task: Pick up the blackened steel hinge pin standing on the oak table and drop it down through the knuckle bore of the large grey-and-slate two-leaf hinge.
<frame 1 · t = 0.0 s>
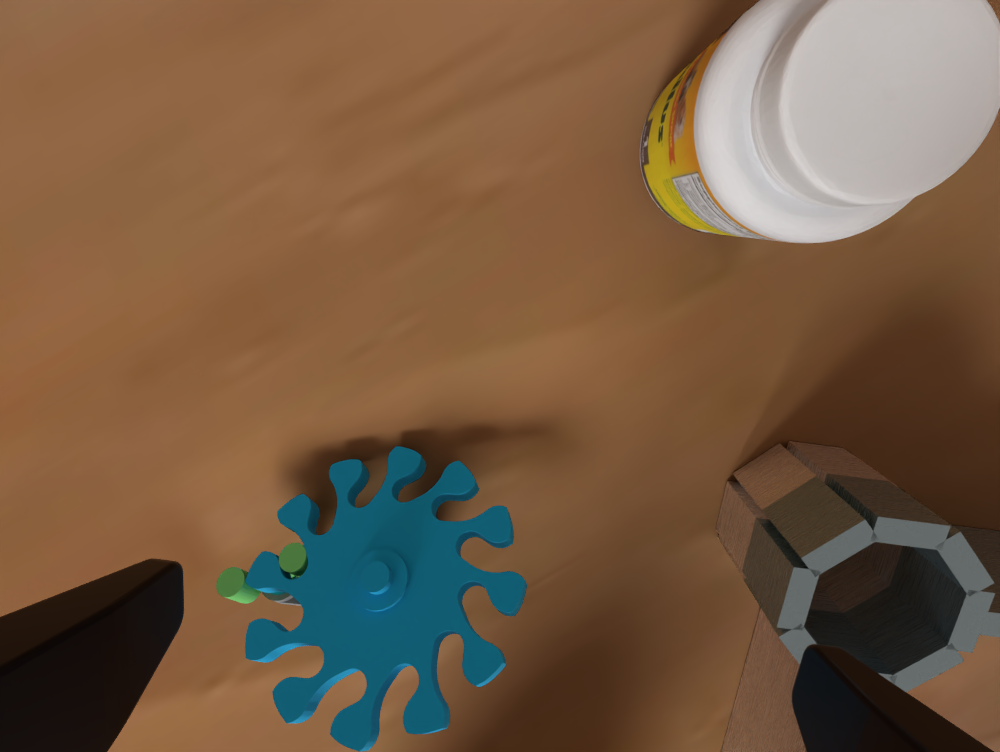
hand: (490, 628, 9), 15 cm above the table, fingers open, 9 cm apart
gear: (393, 527, 25), on the table
supplement bottle: (714, 150, 21), on the table
hinge fixture: (796, 514, 24), on the table
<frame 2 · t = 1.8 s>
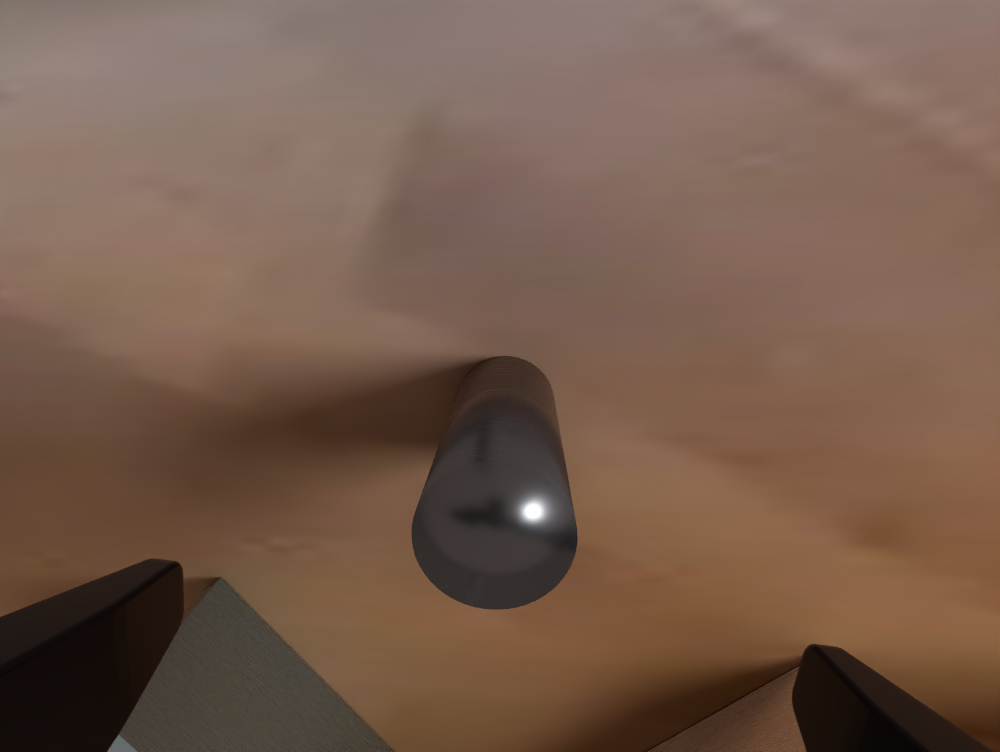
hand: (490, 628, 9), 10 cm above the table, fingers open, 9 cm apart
hinge pin: (505, 403, 19), on the table
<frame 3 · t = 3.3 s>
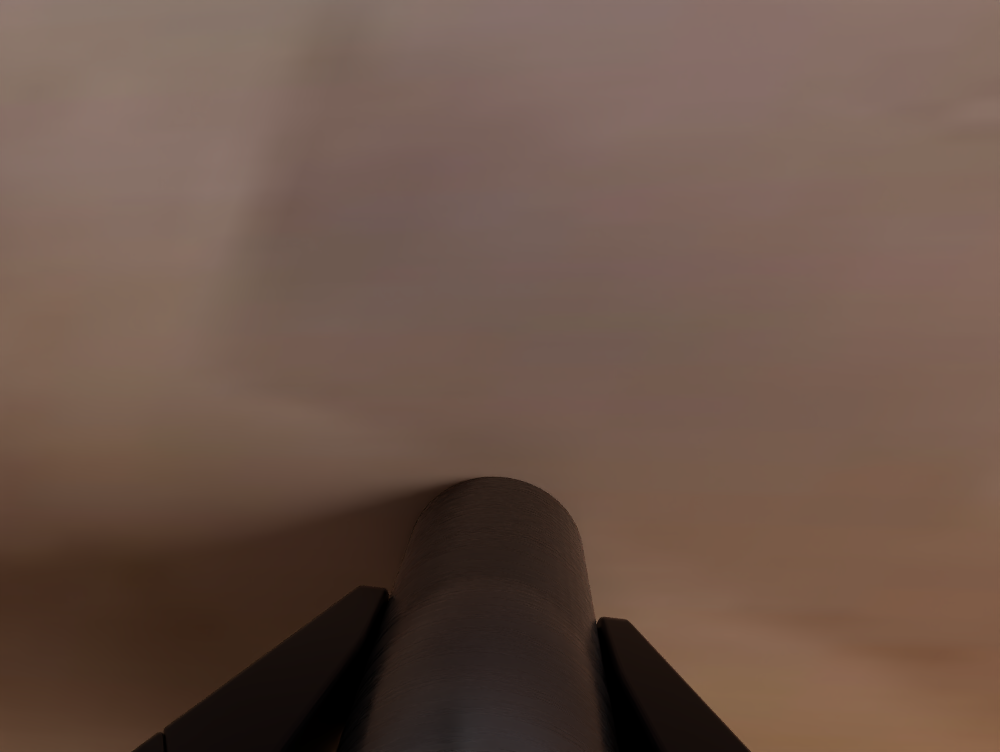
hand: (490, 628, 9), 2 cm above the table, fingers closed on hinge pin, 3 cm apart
hinge pin: (495, 557, 10), on the table, touching gripper
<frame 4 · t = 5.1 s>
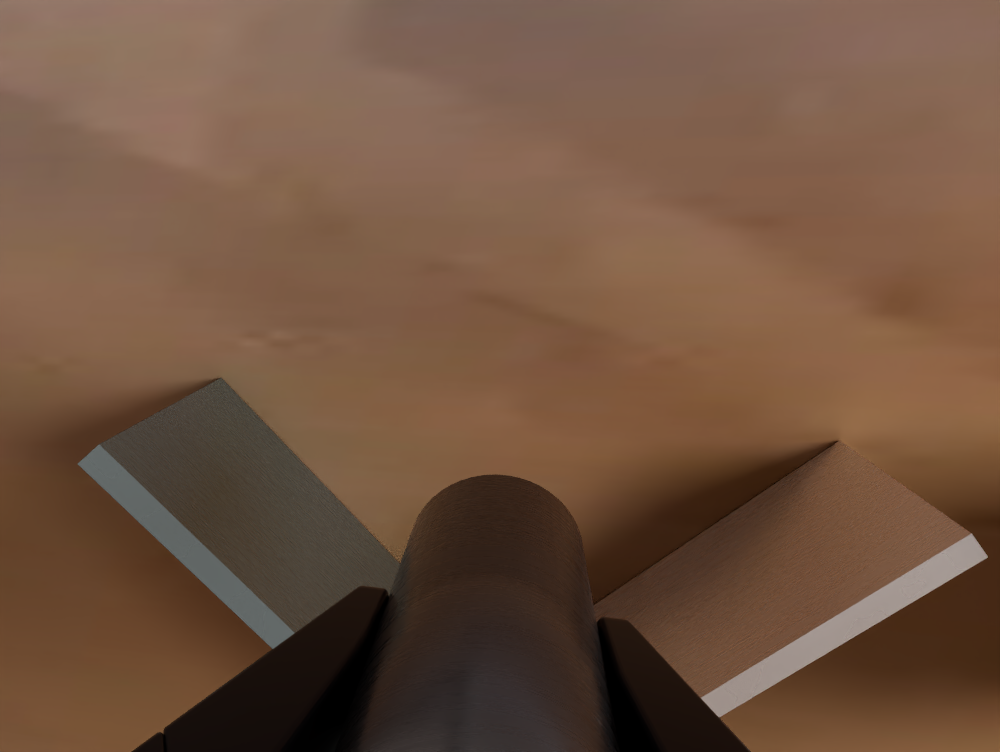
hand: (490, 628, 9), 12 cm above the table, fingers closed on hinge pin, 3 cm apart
hinge pin: (495, 555, 10), point 10 cm above the table, touching gripper
hinge fixture: (498, 680, 23), on the table
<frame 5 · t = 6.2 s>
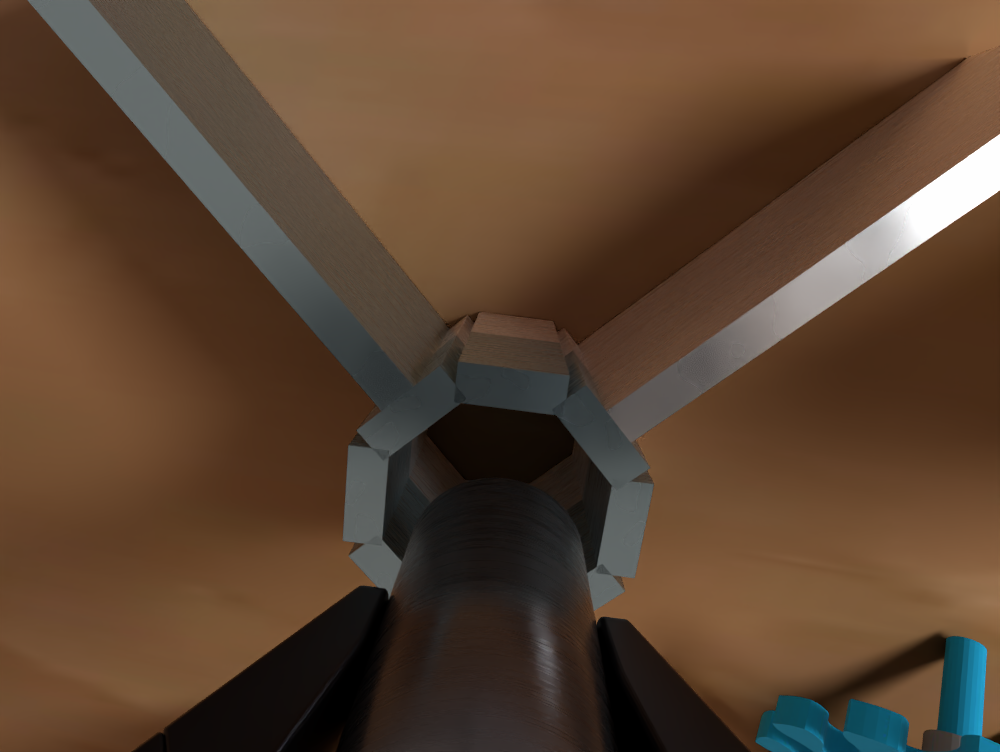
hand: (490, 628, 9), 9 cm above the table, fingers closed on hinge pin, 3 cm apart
hinge pin: (495, 557, 10), point 8 cm above the table, touching gripper
gear: (880, 707, 20), on the table
hinge fixture: (503, 416, 18), on the table
when the fingers open (7 cm above the table, at t = 7.0 s): hinge pin drops 5 cm, resting in hinge fixture.
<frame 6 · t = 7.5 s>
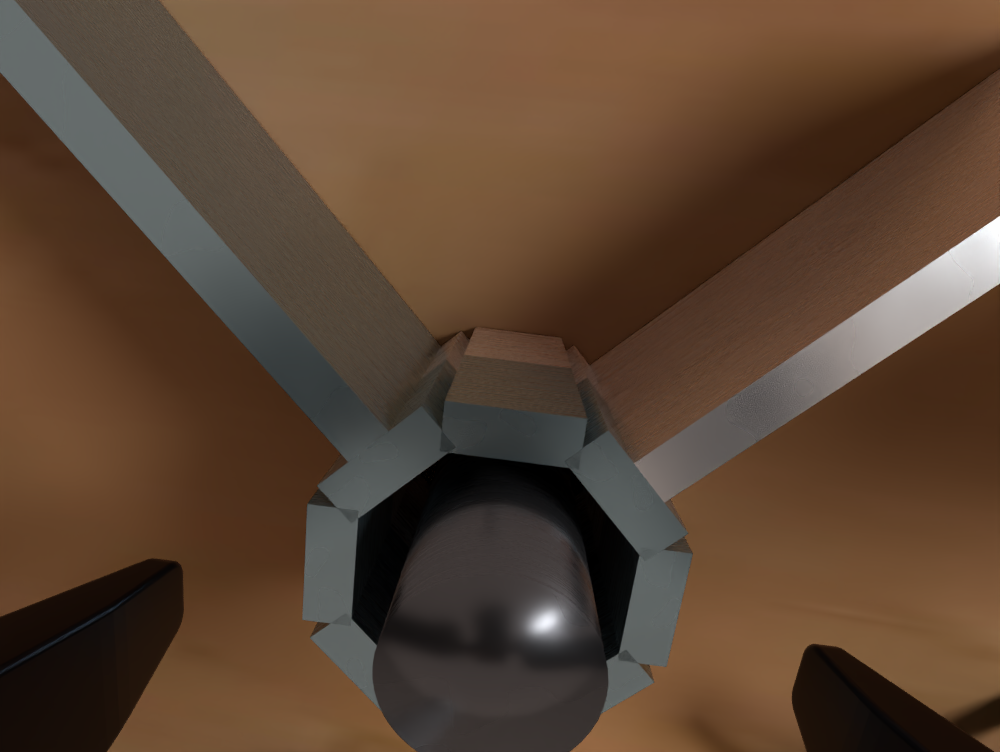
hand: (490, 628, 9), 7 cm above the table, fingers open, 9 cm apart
hinge pin: (505, 446, 15), resting in hinge fixture
hinge fixture: (503, 446, 15), on the table
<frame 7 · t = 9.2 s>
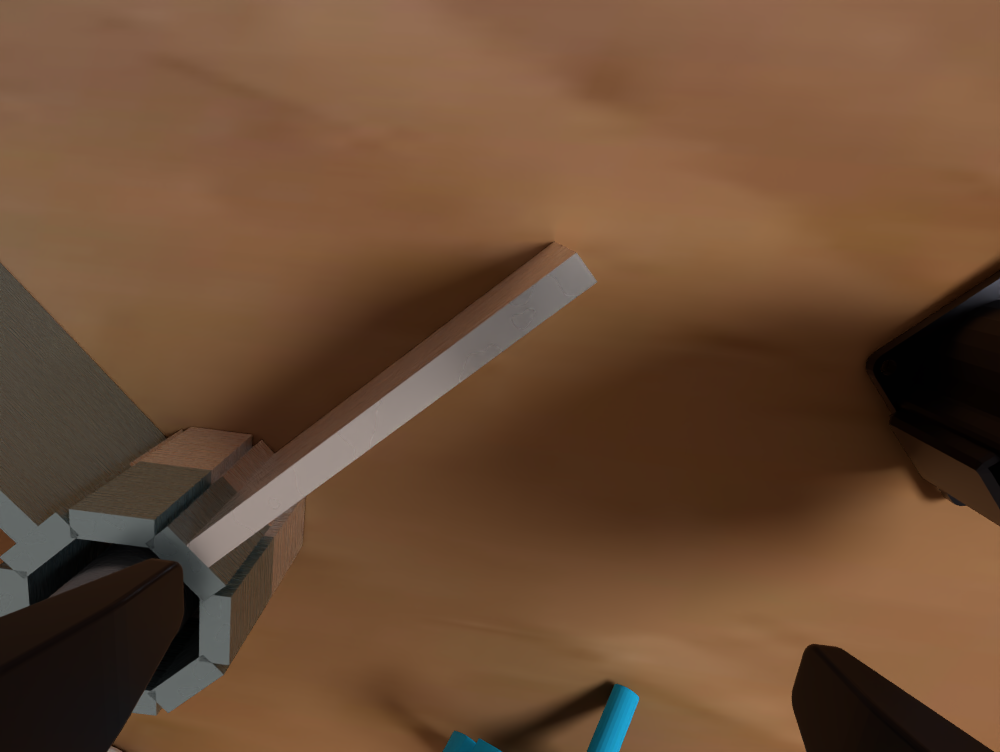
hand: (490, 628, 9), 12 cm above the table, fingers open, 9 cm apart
hinge pin: (222, 508, 21), resting in hinge fixture
gear: (570, 739, 24), on the table
hinge fixture: (220, 508, 21), on the table
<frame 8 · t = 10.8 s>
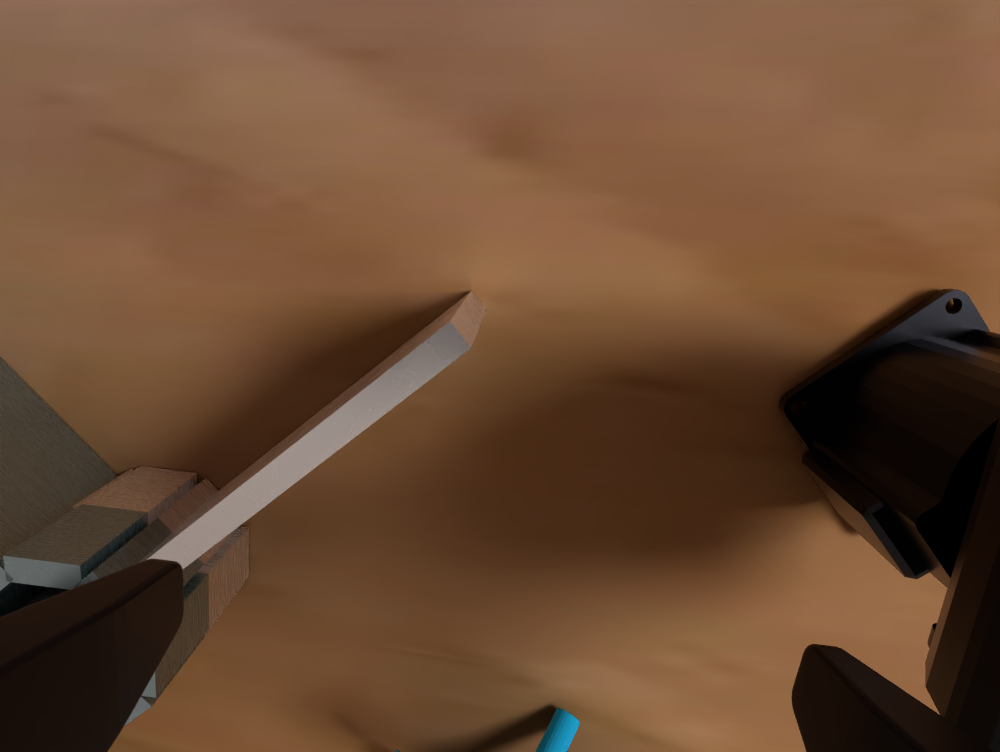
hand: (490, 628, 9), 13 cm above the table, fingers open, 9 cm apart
hinge fixture: (170, 541, 23), on the table
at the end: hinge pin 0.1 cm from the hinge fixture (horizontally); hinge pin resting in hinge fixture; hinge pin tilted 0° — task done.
